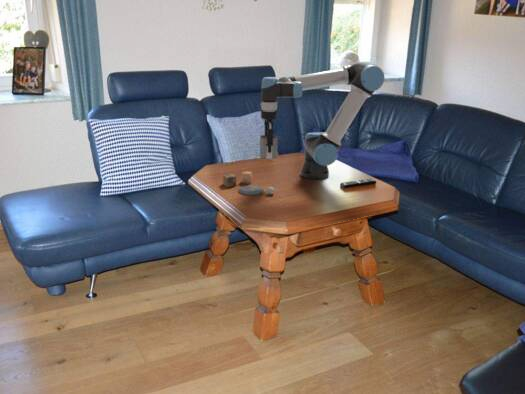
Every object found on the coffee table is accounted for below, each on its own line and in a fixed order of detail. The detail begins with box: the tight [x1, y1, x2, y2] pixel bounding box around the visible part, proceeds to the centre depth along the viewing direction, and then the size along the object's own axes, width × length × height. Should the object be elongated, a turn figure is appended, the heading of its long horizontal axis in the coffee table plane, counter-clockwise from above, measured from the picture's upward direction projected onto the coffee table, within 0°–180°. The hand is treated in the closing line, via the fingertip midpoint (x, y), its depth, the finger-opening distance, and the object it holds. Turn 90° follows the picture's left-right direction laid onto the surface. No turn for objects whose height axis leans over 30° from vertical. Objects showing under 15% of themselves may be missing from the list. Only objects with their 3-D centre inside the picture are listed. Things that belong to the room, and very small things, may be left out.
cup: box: [259, 134, 278, 160], centre depth 252 cm, size 8×8×10 cm
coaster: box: [238, 185, 264, 196], centre depth 249 cm, size 12×12×1 cm
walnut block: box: [222, 173, 237, 188], centre depth 257 cm, size 5×5×5 cm
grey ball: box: [266, 186, 275, 196], centre depth 245 cm, size 4×4×4 cm
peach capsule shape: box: [241, 171, 253, 185], centre depth 261 cm, size 5×5×5 cm
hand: (268, 155), depth 253 cm, fingers closed on cup, 8 cm apart
